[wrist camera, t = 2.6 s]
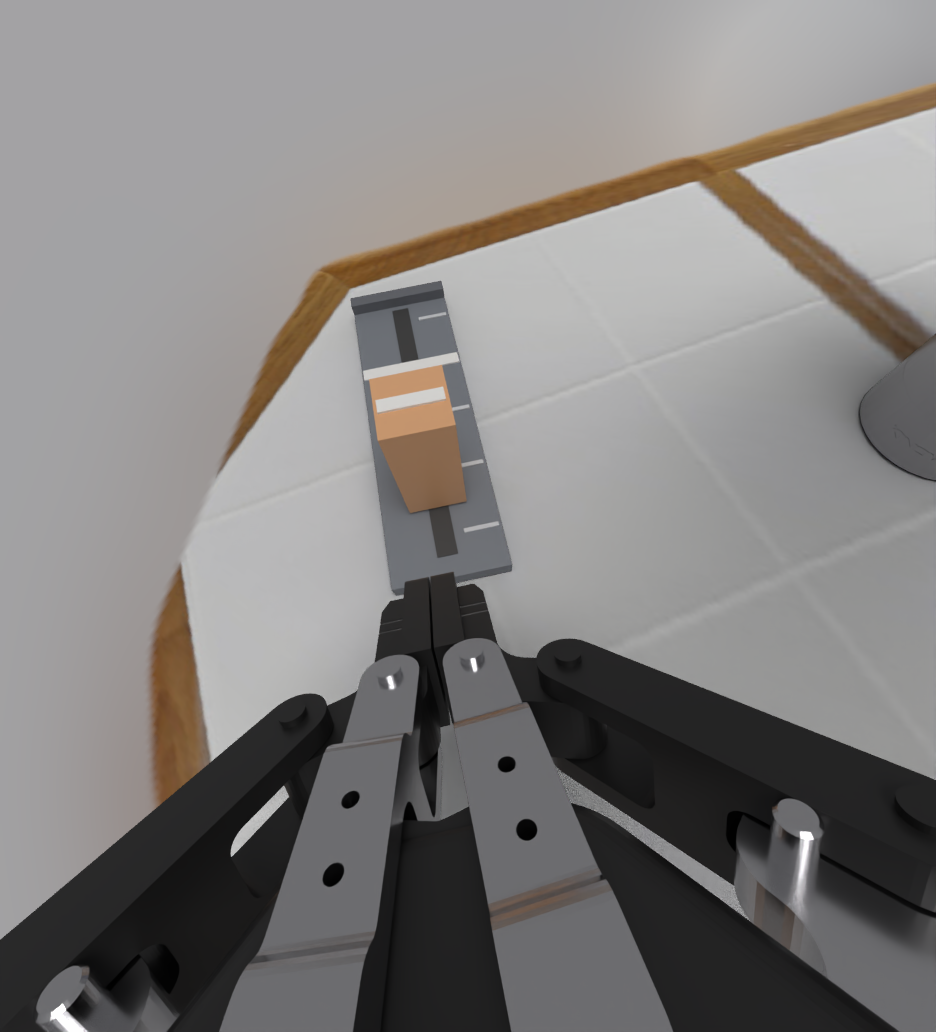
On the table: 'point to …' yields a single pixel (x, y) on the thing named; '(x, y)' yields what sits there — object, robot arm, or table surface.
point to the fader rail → (475, 523)
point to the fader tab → (419, 437)
